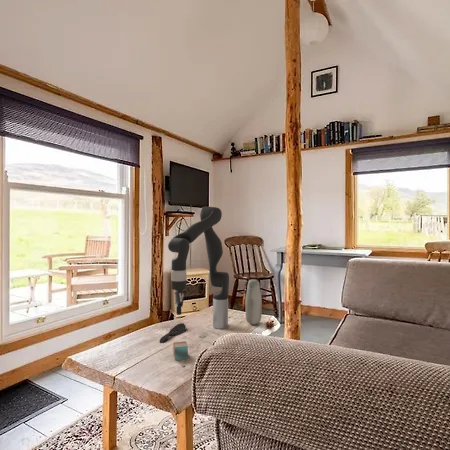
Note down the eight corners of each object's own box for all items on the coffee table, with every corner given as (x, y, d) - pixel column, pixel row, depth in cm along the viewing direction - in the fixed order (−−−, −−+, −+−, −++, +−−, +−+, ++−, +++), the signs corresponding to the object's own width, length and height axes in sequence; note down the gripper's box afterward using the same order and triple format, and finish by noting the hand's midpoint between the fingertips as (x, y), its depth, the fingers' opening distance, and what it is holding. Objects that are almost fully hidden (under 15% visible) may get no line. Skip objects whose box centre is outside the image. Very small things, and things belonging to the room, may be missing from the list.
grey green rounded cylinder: (245, 321, 204) (245, 277, 204) (261, 321, 203) (261, 278, 203) (245, 326, 194) (245, 280, 194) (261, 326, 193) (262, 280, 193)
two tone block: (173, 342, 153) (174, 347, 147) (185, 341, 154) (187, 345, 148) (173, 354, 153) (174, 360, 147) (185, 353, 154) (187, 358, 148)
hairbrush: (153, 337, 168) (176, 321, 192) (153, 344, 169) (176, 327, 192) (167, 339, 166) (188, 322, 189) (167, 346, 166) (188, 328, 189)
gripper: (189, 281, 150) (189, 317, 150) (183, 276, 162) (183, 310, 163) (173, 282, 147) (173, 319, 148) (169, 277, 160) (169, 311, 160)
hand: (178, 314), depth 155 cm, fingers closed
